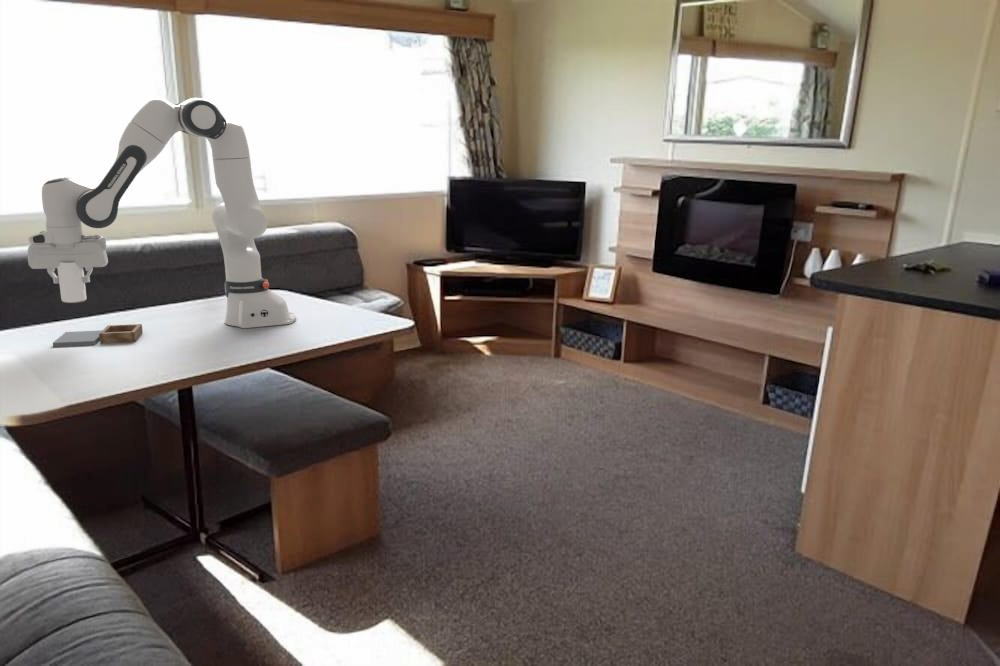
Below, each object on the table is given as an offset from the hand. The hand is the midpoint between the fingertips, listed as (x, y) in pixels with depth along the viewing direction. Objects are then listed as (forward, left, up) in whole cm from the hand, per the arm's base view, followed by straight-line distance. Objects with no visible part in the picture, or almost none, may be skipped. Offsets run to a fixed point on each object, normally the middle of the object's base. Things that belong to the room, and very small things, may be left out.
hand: (72, 282), depth 215 cm
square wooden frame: (-12, 0, -18) cm, 21 cm away
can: (0, 0, -6) cm, 6 cm away
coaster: (0, 0, -18) cm, 18 cm away
